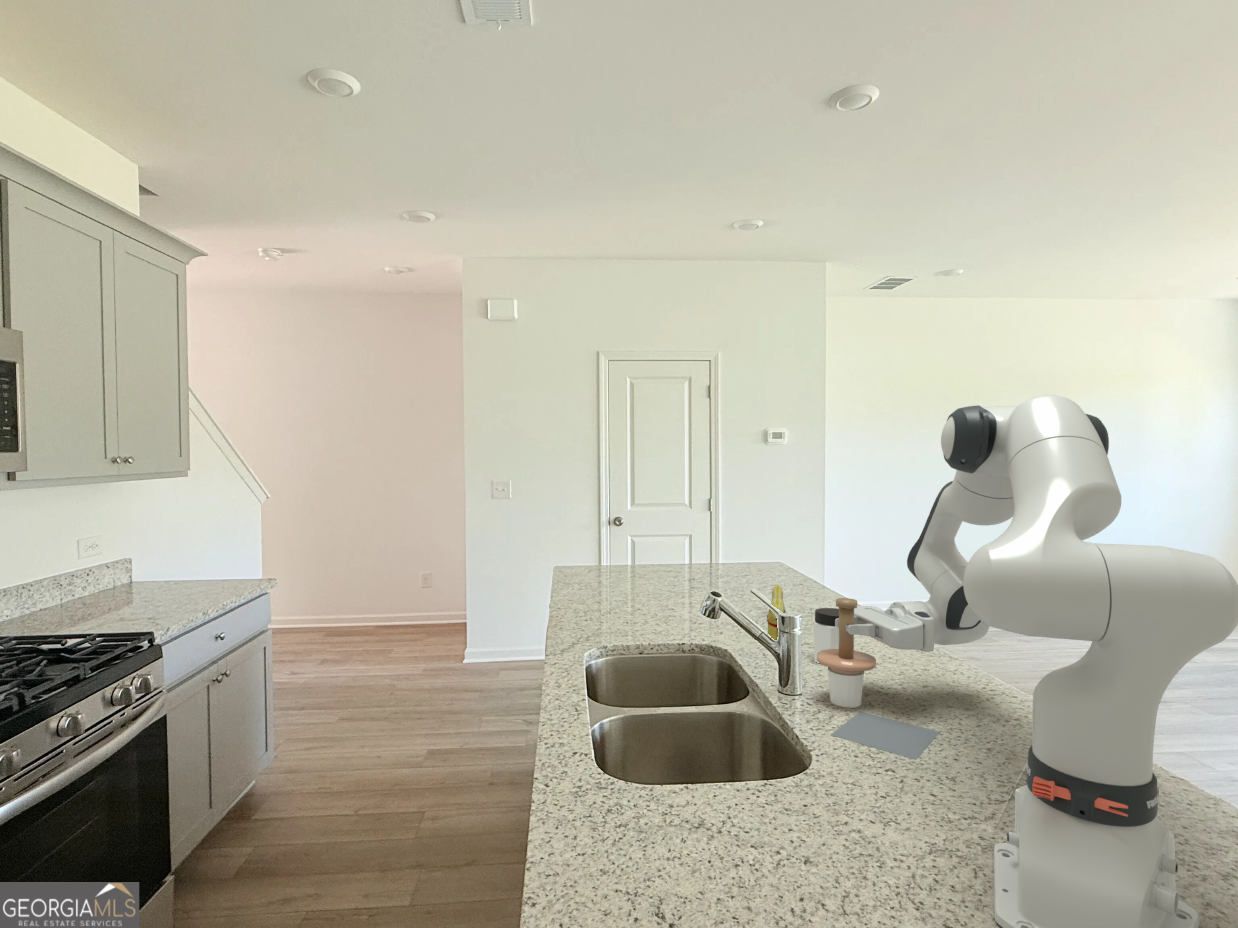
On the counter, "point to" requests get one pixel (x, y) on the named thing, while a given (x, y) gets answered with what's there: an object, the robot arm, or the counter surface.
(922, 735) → the mat
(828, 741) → the counter surface
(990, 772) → the counter surface
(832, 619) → the jar
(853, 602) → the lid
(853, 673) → the shot glass
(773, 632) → the chocolate bunny
